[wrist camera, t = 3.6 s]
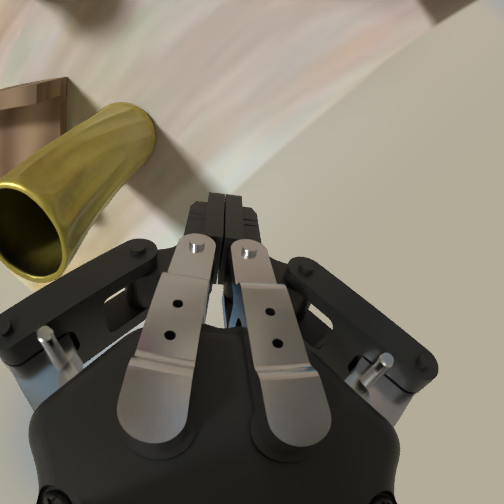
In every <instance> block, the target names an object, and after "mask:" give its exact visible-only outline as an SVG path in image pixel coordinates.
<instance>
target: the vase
mask: <svg viewBox="0 0 504 504" xmlns="http://www.w3.org/2000/svg"><path fill="white" fill-rule="evenodd" d="M154 145H155V129H154V126H153V123H152V121H151V119H150V117H149V116H148V115H147V114H146V113H145V112H144V111H143V110H142V109H140V108H139V107H137V106H135V105H133V104H130V103H123V102H119V103H113V104H110V105H108V106H106V107H104V108H103V109H101V110H100V111H99V112H98V113H97V114H95V115H93V116H92V117H90V118H89V119H87V120H85V121H84V122H82V123H80V124H79V125H77V126H75V127H74V128H72V129H70V130H69V131H67V132H66V133H64V134H63V135H61V136H60V137H58V138H57V139H55V140H53V141H52V142H50V143H49V144H47V145H46V146H44V147H43V148H41V149H40V150H38V151H37V152H36V153H34V154H33V155H31V156H30V157H29V158H27V159H26V160H24V161H23V162H22V163H20V164H19V165H18V166H16V167H15V168H14V169H12V170H11V171H10V172H8V173H7V174H6V175H4V176H3V177H2V178H0V261H1V262H2V263H3V264H4V265H5V266H6V267H7V268H9V269H10V270H11V271H13V272H14V273H16V274H17V275H19V276H21V277H23V278H25V279H27V280H30V281H33V282H37V283H46V282H50V281H53V280H56V279H57V278H59V277H60V276H61V275H62V274H63V272H64V271H65V269H66V268H67V266H68V265H69V264H70V262H71V260H72V259H73V257H74V255H75V254H76V252H77V250H78V248H79V247H80V245H81V243H82V241H83V240H84V238H85V236H86V235H87V233H88V231H89V230H90V228H91V226H92V225H93V223H94V222H95V220H96V219H97V218H98V216H99V215H100V213H101V212H102V211H103V209H104V208H105V207H106V206H107V205H108V204H109V202H110V201H111V200H112V198H113V197H114V196H115V194H116V193H117V192H118V191H119V190H120V188H121V187H122V186H123V185H124V184H125V183H126V182H127V181H128V180H129V179H130V178H131V177H132V175H133V174H134V173H135V172H136V171H137V170H138V169H139V168H140V166H142V165H143V164H144V163H145V162H146V161H147V160H148V158H149V156H150V155H151V153H152V151H153V149H154Z"/></svg>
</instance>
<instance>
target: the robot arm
mask: <svg viewBox="0 0 504 504" xmlns="http://www.w3.org/2000/svg"><path fill="white" fill-rule="evenodd" d="M224 200H225V202H224ZM258 226H259V225H258V219H257V214H256V213H255V211H254V210H253V209H252V208H249V207H242V197H241V196H236V195H228V194H226V196H225V194H220V193H212V192H209V197H208V202H199V201H196V202H195V203H194V204H193V205H191V207H190V211H189V215H188V219H187V224H186V228H185V232H184V236H183V237H181V238H180V240H179V241H178V244H177V245H176V246H174V247H172V248H168V249H160V250H157V247H156V245H155V244H154V243H153V242H151V241H149V240H146V239H132V240H129V241H127V242H125V243H123V244H121V245H119V246H117V247H115V248H113V249H111V250H109V251H108V252H106V253H104V254H102V255H100V256H98V257H96V258H94V259H93V260H91V261H89V262H87V263H85V264H83V265H82V266H80V267H78V268H76V269H74V270H73V271H71V272H69V273H67V274H66V275H64V276H62V277H60V278H59V279H57V280H55V281H53V282H52V283H50V284H48V285H47V286H45V287H43V288H41V289H40V290H38V291H36V292H35V293H33V294H32V295H30V296H28V297H27V298H25V299H23V300H22V301H20V302H19V303H17V304H15V305H14V306H13V307H11V308H9V309H8V310H6V311H4V312H3V313H1V314H0V358H1V360H2V362H3V363H4V364H5V365H6V366H7V368H8V369H9V370H10V371H11V372H12V373H13V375H14V377H15V379H16V381H17V383H18V385H19V386H20V388H21V390H22V392H23V393H24V395H25V397H26V399H27V401H28V402H29V404H30V405H31V407H32V409H33V410H34V413H33V415H32V418H31V421H30V425H29V443H30V447H31V451H32V454H33V457H34V461H35V465H36V469H37V474H38V482H39V495H38V500H37V503H36V504H397V503H396V500H395V496H394V482H395V474H396V469H397V465H398V461H399V455H400V443H399V439H398V436H397V433H396V431H395V429H394V426H395V424H396V423H397V421H398V420H399V418H400V417H401V415H402V413H403V412H404V410H405V409H406V407H407V405H408V404H409V402H410V400H411V399H412V397H413V396H414V395H415V394H416V393H418V392H419V391H420V390H421V389H423V388H424V387H425V386H426V385H427V384H428V383H430V382H431V381H432V380H433V379H434V378H435V377H436V376H437V374H438V364H437V361H436V359H435V357H434V356H433V355H432V353H431V352H429V351H428V350H427V349H426V348H425V347H423V346H422V345H421V344H420V343H418V342H417V341H416V340H415V339H414V338H412V337H411V336H410V335H409V334H408V333H406V332H405V331H404V330H403V329H401V328H400V327H399V326H398V325H396V324H395V323H394V322H393V321H391V320H390V319H389V318H388V317H386V316H385V315H384V314H383V313H381V312H380V311H379V310H378V309H376V308H375V307H374V306H372V305H371V304H370V303H369V302H367V301H366V300H365V299H363V298H362V297H361V296H360V295H359V294H357V293H356V292H355V291H353V290H352V289H351V288H349V287H348V286H347V285H346V284H344V283H343V282H342V281H340V280H339V279H338V278H336V277H335V276H334V275H333V274H331V273H330V272H329V271H327V270H326V269H325V268H323V267H322V266H321V265H319V264H318V263H317V262H315V261H314V260H311V259H309V258H305V257H295V258H292V259H291V260H290V261H289V263H288V264H286V263H283V262H280V261H277V260H274V259H272V258H271V257H269V255H268V251H267V249H266V248H265V247H264V246H263V245H262V244H261V238H260V232H259V227H258ZM217 275H218V284H222V285H224V291H223V296H222V306H223V317H224V327H225V328H224V329H223V328H217V327H214V326H210V325H207V324H205V320H206V314H207V308H208V302H209V295H210V293H211V291H212V284H216V281H217ZM123 288H125V290H124V291H123V292H121V293H120V294H118V295H116V296H115V297H113V298H112V299H110V300H109V301H107V302H105V301H106V299H107V298H109V297H110V296H112V295H113V294H115V293H117V292H118V291H120V290H121V289H123ZM104 302H105V303H104ZM310 304H312V305H314V306H315V307H316V308H317V309H319V310H320V311H321V312H322V313H323V314H325V315H326V316H327V317H328V318H329V319H330V320H331V322H332V324H333V330H332V329H331V328H329V327H328V326H327V325H326V324H325V323H323V322H322V321H321V320H320V319H319V318H318V317H316V316H315V315H314V314H313V313H312V312H311V311H309V310H308V308H309V306H310ZM145 319H146V321H145V324H144V327H143V328H140V329H137V330H135V331H133V332H131V333H130V334H128V335H126V336H125V337H124V338H122V339H121V340H120V341H118V342H117V343H116V344H115V345H113V346H112V347H111V348H110V349H108V350H107V351H106V352H105V353H104V354H102V355H101V356H99V357H98V358H97V359H96V360H94V361H93V362H92V363H90V364H89V365H88V366H87V367H86V368H84V369H83V364H84V363H85V362H87V361H88V360H90V359H91V358H92V357H94V356H95V355H97V354H98V353H99V352H101V351H102V350H103V349H105V348H106V347H108V346H109V345H110V344H112V343H113V342H115V341H116V340H117V339H119V338H120V337H121V336H123V335H124V334H126V333H127V332H128V331H130V330H131V329H133V328H134V327H135V326H137V325H138V324H140V323H141V322H142V321H144V320H145Z"/></svg>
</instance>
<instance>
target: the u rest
mask: <svg viewBox="0 0 504 504" xmlns="http://www.w3.org/2000/svg"><path fill="white" fill-rule="evenodd" d="M66 87H67V77H62V78H55V79H48V80H42V81H36V82H31V83H26V84H21V85H16V86H12V87H8V88H4V89H0V178H2V177H3V176H4V175H6V174H7V173H8V172H10V171H11V170H12V169H14V168H15V167H16V166H18V165H19V164H20V163H22V162H23V161H24V160H26V159H27V158H29V157H30V156H31V155H33V154H34V153H36V152H37V151H38V150H40V149H41V148H43V147H44V146H46V145H47V144H49V143H50V142H52V141H53V140H55V139H57V138H58V137H60V136H61V135H63V134H64V133H66Z"/></svg>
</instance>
